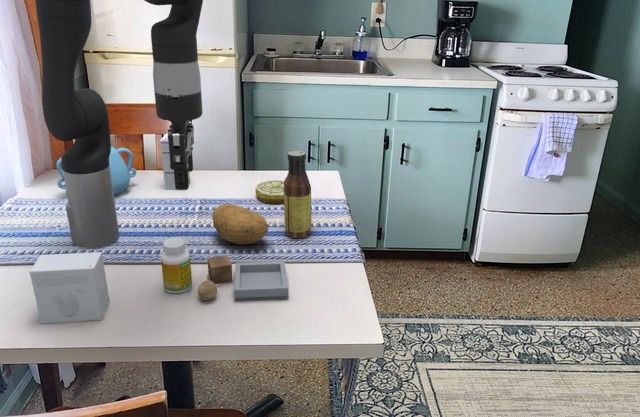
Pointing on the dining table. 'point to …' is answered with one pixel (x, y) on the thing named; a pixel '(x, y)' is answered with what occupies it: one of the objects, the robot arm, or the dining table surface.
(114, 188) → the decorative pot
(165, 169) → the syrup box
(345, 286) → the dining table surface
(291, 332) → the dining table surface
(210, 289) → the cork ball
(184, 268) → the supplement bottle
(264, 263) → the tray
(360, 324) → the dining table surface
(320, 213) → the dining table surface
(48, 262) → the skincare box
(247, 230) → the potato
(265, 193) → the decorated donut
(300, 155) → the sauce bottle
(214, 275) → the walnut block
